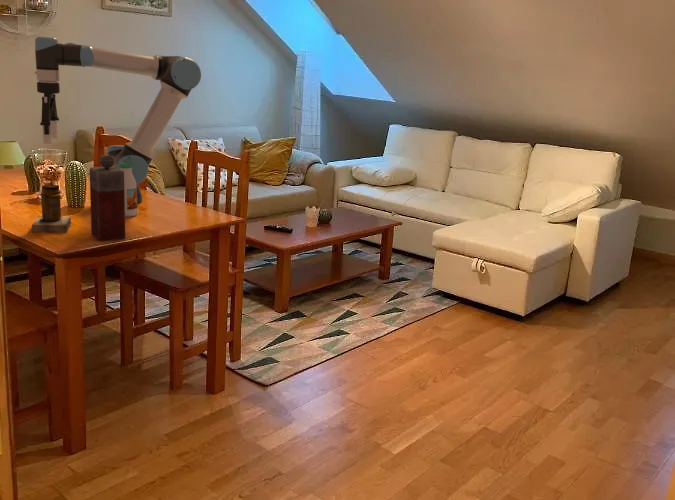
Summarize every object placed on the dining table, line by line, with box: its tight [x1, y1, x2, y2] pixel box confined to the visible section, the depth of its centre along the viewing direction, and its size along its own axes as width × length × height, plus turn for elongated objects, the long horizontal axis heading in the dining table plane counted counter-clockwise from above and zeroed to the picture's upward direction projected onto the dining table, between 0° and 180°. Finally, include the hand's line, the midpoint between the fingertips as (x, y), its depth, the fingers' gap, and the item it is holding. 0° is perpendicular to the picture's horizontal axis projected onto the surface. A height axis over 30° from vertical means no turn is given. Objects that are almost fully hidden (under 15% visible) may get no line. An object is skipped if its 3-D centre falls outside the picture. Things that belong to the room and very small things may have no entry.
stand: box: [31, 215, 72, 234], centre depth 241 cm, size 11×11×3 cm
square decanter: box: [89, 153, 126, 242], centre depth 233 cm, size 9×11×28 cm
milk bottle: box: [119, 162, 139, 218], centre depth 263 cm, size 8×8×20 cm
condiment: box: [39, 184, 63, 224], centre depth 238 cm, size 7×8×12 cm
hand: (50, 141), depth 255 cm, fingers open, 13 cm apart
